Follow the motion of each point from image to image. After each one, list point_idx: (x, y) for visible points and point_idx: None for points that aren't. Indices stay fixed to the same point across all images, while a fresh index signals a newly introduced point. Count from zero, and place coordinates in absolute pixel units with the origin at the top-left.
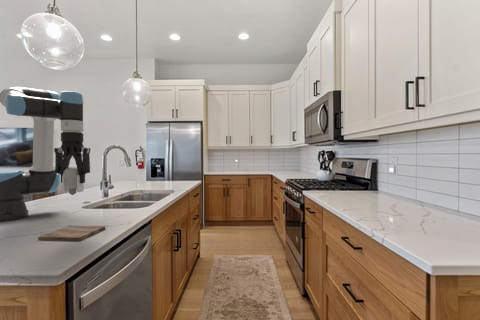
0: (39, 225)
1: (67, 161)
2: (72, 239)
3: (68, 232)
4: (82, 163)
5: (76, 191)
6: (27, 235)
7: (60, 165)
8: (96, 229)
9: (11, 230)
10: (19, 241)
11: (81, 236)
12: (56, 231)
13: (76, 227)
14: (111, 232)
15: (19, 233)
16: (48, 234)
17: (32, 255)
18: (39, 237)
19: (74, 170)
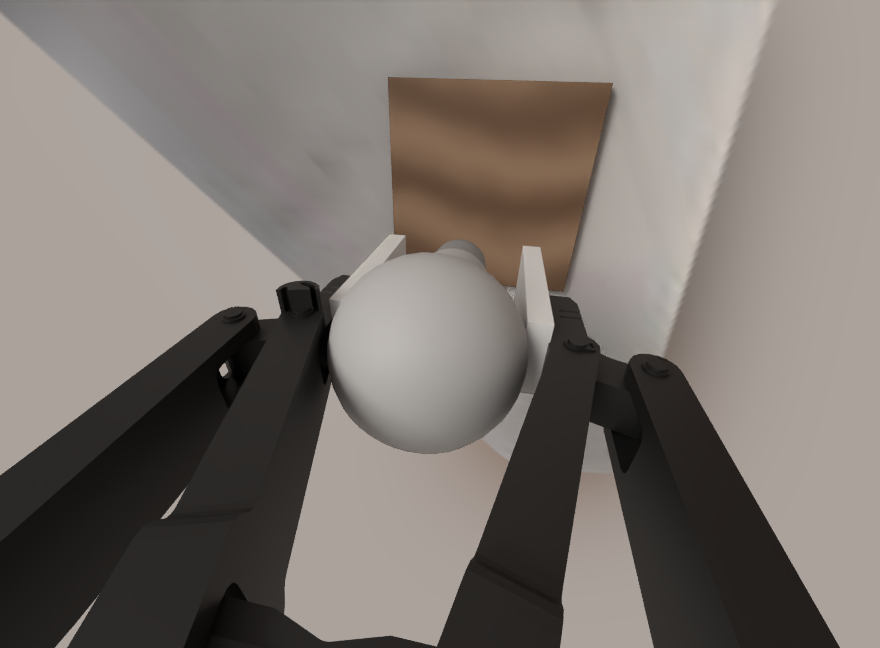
0: (186, 21)
1: (290, 492)
2: None
3: (474, 219)
4: (578, 476)
5: (483, 258)
6: (309, 213)
7: (210, 411)
8: (586, 161)
9: (170, 138)
10: None
11: (564, 275)
12: (410, 202)
13: (456, 123)
14: (666, 154)
15: (251, 185)
16: (412, 248)
17: None
18: None
19: (484, 434)
